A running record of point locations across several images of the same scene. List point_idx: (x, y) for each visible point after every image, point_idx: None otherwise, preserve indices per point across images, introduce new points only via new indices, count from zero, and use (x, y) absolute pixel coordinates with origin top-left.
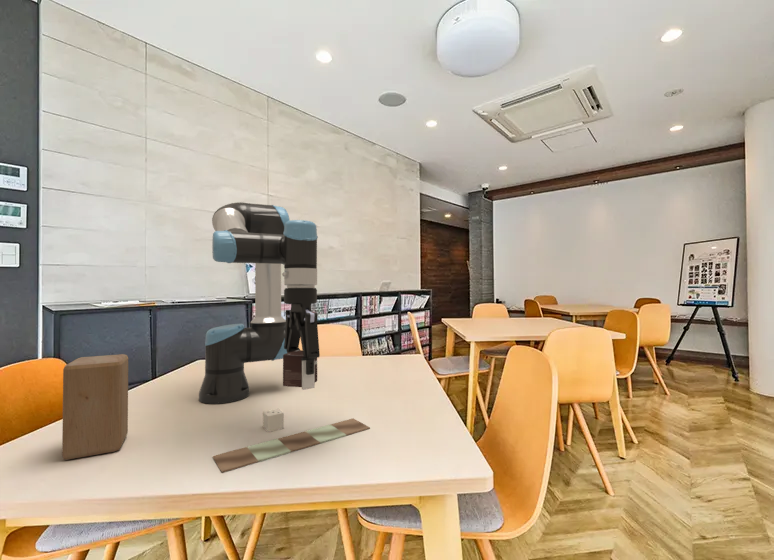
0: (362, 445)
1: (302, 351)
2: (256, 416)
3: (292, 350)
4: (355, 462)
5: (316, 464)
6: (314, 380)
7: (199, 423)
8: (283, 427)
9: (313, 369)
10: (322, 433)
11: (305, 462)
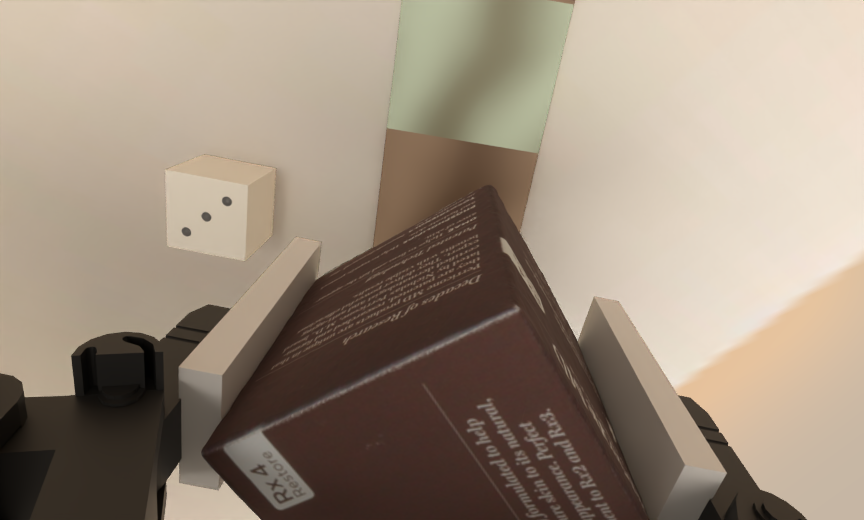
0: (714, 23)
1: (375, 461)
2: (52, 179)
3: (162, 466)
4: (782, 158)
5: (659, 262)
6: (636, 331)
7: (19, 364)
8: (275, 170)
9: (716, 435)
10: (470, 84)
11: (615, 278)
